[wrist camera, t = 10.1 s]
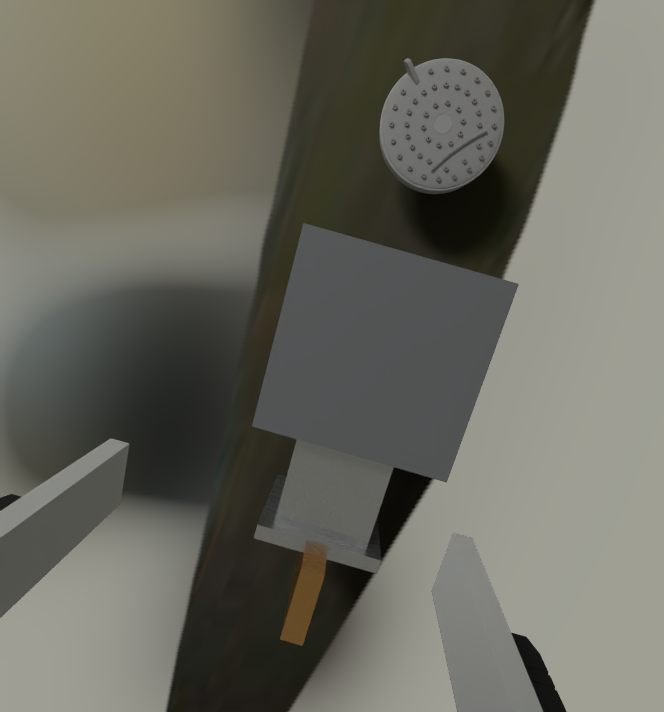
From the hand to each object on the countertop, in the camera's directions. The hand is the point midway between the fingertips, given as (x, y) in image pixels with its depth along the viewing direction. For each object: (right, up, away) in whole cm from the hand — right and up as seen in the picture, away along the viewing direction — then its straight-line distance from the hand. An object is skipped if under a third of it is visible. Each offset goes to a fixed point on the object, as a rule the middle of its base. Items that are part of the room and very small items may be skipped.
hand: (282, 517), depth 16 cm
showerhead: (+11, +25, +21) cm, 35 cm away
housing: (+6, +9, +25) cm, 27 cm away
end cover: (+2, -5, +23) cm, 24 cm away
